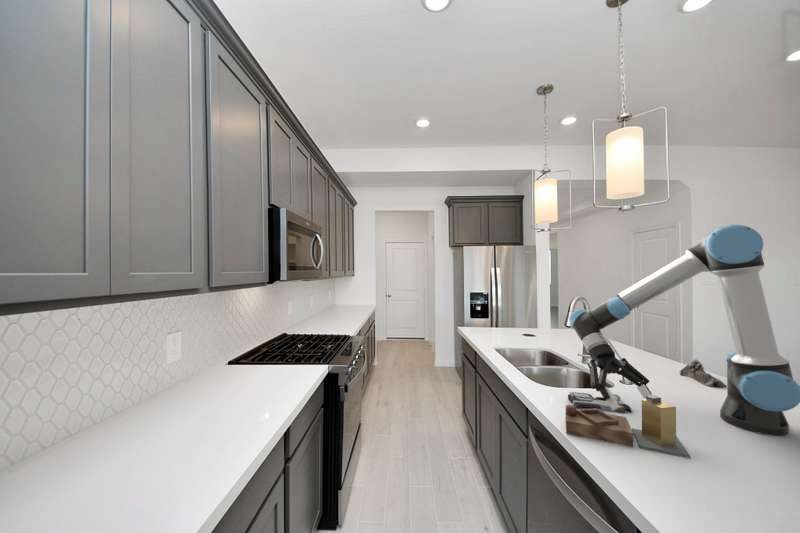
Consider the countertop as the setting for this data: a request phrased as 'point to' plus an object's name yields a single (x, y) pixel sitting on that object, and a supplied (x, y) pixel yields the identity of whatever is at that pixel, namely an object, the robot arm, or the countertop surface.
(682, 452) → the mat
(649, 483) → the countertop surface
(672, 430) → the labelled wooden block
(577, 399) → the toy gun
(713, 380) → the rock
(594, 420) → the body
